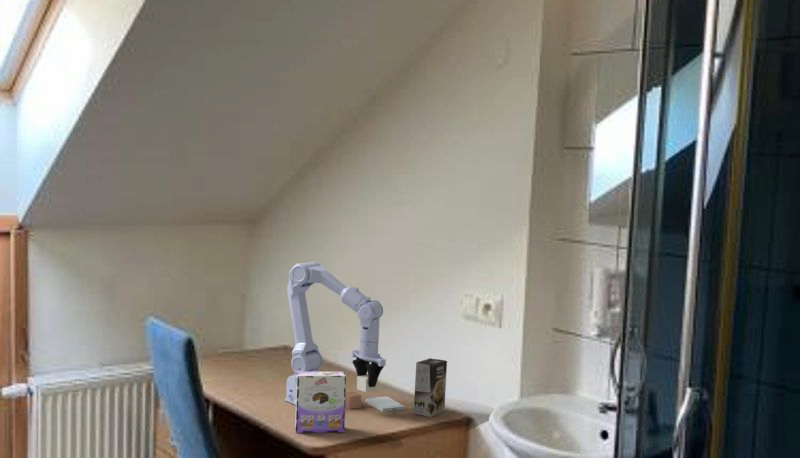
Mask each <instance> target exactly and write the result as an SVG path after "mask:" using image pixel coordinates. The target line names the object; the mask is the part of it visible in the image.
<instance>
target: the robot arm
mask: <svg viewBox="0 0 800 458" xmlns="http://www.w3.org/2000/svg"><path fill="white" fill-rule="evenodd" d="M288 276H289V277H288V278H289V279H288V283H287V288H286V290H287V291H286V292H287V293H286V294H287V298H288V304H289V311H290V316H291V323H292V329H293V330H292V331H293V334H294V337H293V338H294V342H295V346H293V349H292V351H291V360H290V361H291V362H290V367H291V369H292V371H293V372H294V374H293V375H290V376H288V377H287V379H286V388H285V392H286V393H285V398H284V401H286V402H288V403H290V404H292V405H294V406H296V382H297V371H298V372H300V371H304V372H312V371H313V372H320V371H319V369H320V368H321V367H322V365H323V361H324V360H323V356H322V354H321V353H320V350H319V346H318V345H317V344H316V343H315V342H314V339H313V334H312V328H311V322H310V314H309V311H308V310H309V309H308V303H307V297H306V296H307V295H306V292H307V291H308V290H309V289H310V287H311V286H312V285H314V284H321V285H324V287H326V288H328V289H329V290H331V291H332V292H334V293H335V294H337V295H338V296H339V297H340V300H341V302H342V303H343V304H344V305H345V306H347V307H348V308H350V309H351V311H354V312H355V313H356V314H357V317H358V318H359V320H360V323H359V324H360V328H359V329H360V330H359V350H357V349H356V350H352V351H351V357H352V358H355V359H353V360H352V364H353V366H354V369H355V372H356V375H357V376H362V375H368V384H369V387H375V386H376V383H377V379H378V380H379V377H380V374H381V373H382V370H383V369H384V367H385V366H386V359H385V358H383V357H381V354H380V353H379V343H380V342H379V339H380V334H379V333H380V320H381V319H380V318H381V317H382V316H383V315H384V307H383V305H382V304H381V302H380V301H379V300H376V299H374V300H373V299H371V297H370V296H366V295H365V294H364V293H362V292H361V291H359V290H360V288H359V287H354V286H346V285H345V284H344V283H343V282H342V281H340V280H339V279H338V278H336V277H335V276H334V275H333V274H331V273H330V272H329V271H328V270H327V268H326V266H323V265H321V264H320V263H319V262H317V261H310V262H304V263H296V264H295V265H292V267H291V269H290V270H289V271H288Z"/></svg>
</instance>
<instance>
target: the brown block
mask: <svg viewBox="0 0 800 458" xmlns="http://www.w3.org/2000/svg"><path fill="white" fill-rule="evenodd" d="M361 407H362V394H360V393H357V392H355V391H349V392H345V409H347V410H353V409H357V408H361ZM352 408H353V409H352Z"/></svg>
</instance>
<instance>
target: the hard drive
mask: <svg viewBox="0 0 800 458" xmlns="http://www.w3.org/2000/svg"><path fill="white" fill-rule="evenodd" d="M364 401H365V403H367V404H369V405H370V406H372V407H374V408H375V409H377V410H378V411H380V412H382V413H387V412H395V411H396V412H397V411H405V410H407V407H406V406H405V405H403V404H401V403H399V402H398V401H396V400H395V399H392V398H391V397H390V396H379V397H378V396H377V397H369V398H365V400H364Z"/></svg>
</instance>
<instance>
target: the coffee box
mask: <svg viewBox="0 0 800 458" xmlns="http://www.w3.org/2000/svg"><path fill="white" fill-rule="evenodd" d="M447 368H448V361H447V360H444V359H437V358H432V357H431V358H430V357H429V358H426V359H423V360H421V361H417V362H416V364H415V378H414V379H415V383H414V396H413V397H414V399H413V401H414V402H413V414H414V415H419V416H424V417H427V418H432V417H435V416H436V415H439V414H441V413H443V412H445V407H446V389H447V370H448V369H447Z"/></svg>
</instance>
